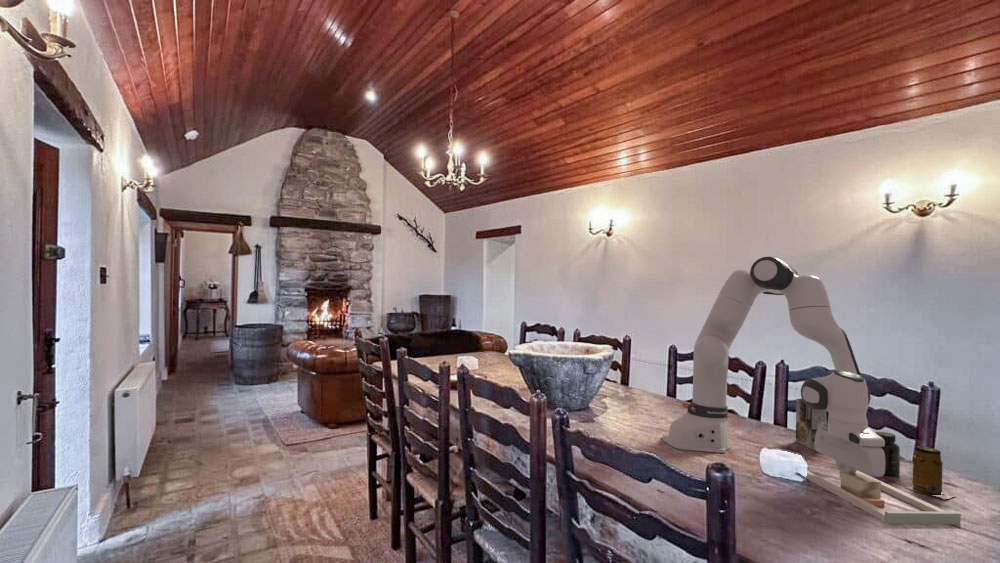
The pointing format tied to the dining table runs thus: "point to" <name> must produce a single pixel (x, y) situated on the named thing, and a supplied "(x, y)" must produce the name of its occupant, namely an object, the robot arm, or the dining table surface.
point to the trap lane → (892, 517)
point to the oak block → (861, 485)
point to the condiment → (927, 471)
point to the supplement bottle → (891, 454)
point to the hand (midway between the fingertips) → (846, 479)
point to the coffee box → (808, 423)
